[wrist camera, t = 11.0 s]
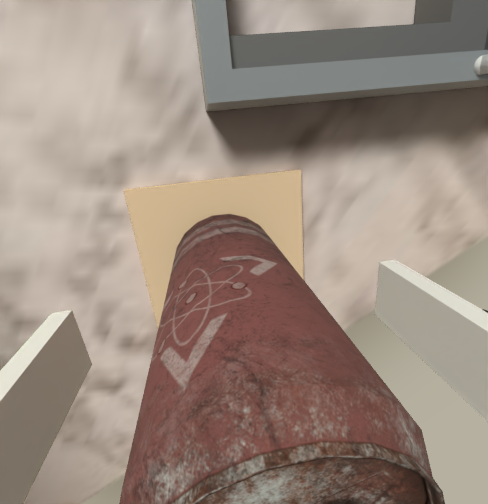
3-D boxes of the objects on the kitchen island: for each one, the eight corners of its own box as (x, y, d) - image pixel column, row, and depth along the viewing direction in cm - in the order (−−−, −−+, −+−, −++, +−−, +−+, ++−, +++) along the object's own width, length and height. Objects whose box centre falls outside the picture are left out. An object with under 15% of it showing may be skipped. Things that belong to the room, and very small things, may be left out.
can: (166, 298, 18) (78, 701, 5) (186, 201, 16) (128, 435, 3) (257, 312, 19) (377, 656, 6) (284, 224, 17) (541, 454, 4)
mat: (161, 337, 19) (160, 340, 19) (125, 189, 16) (123, 190, 15) (302, 313, 20) (304, 316, 20) (298, 169, 17) (301, 170, 16)
